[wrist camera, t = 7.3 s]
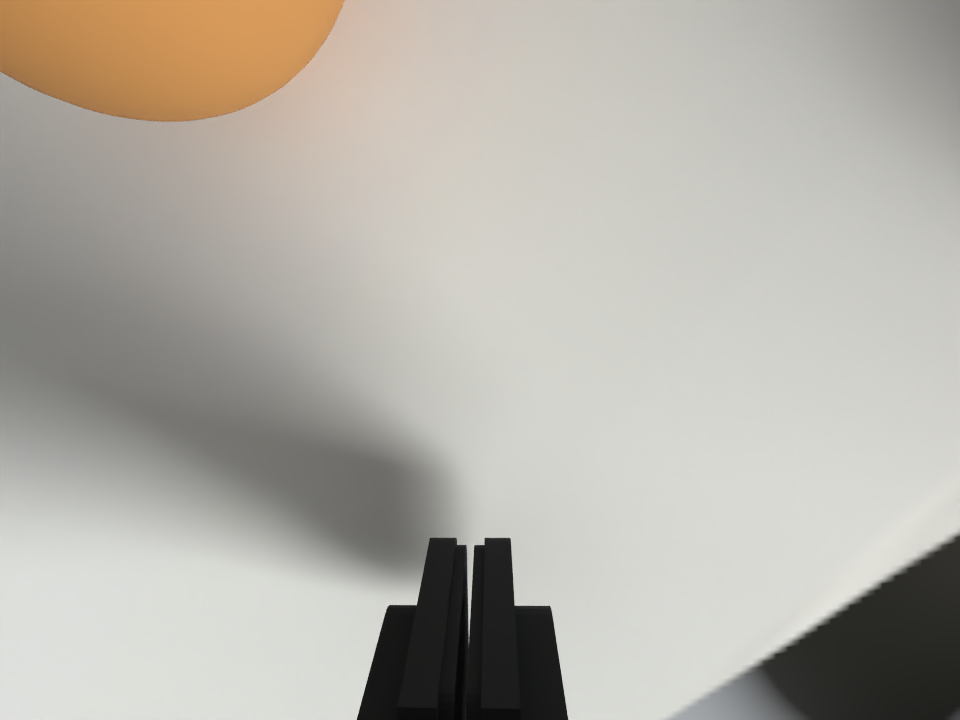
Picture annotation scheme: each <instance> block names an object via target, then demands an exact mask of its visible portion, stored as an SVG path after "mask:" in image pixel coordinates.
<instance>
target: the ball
mask: <svg viewBox="0 0 960 720" xmlns="http://www.w3.org/2000/svg"><path fill="white" fill-rule="evenodd" d="M343 3H344V0H0V72H2V73H4V74H6V75H8V76H10V77H11V78H13V79H15V80H17V81H19V82H21V83H22V84H24V85H26V86H28V87H30V88H33V89H35V90H37V91H39V92H42V93H44V94H46V95H49V96H52V97H55V98H57V99H60V100H63V101H65V102H68V103H71V104H74V105H76V106H79V107H82V108H85V109H88V110H92V111H95V112H99V113H103V114H108V115H112V116H118V117H124V118H130V119H139V120H148V121H190V120H199V119H205V118H210V117H216V116H220V115H224V114H228V113H232V112H235V111H238V110H241V109H243V108H246V107H248V106H250V105H252V104H254V103H256V102H258V101H260V100H262V99H263V98H265V97H267V96H269V95H271V94H272V93H274V92H276V91H277V90H279V89H280V88H281V87H283V86H284V85H285V84H286V83H288V82H289V81H290V80H291V79H292V78H293V77H294V76H295V75H296V74H297V73H299V72H300V71H301V70H302V69H303V68H304V67H305V66H306V65H307V64H308V63H309V61H310V60H311V59H312V58H313V57H314V55H315V54H316V52H317V51H318V50H319V48H320V47H321V45H322V44H323V43H324V41H325V40H326V38H327V36H328V35H329V33H330V31H331V30H332V28H333V26H334V24H335V21H336V19H337V17H338V15H339V13H340V10H341V8H342V6H343Z"/></svg>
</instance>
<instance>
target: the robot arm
mask: <svg viewBox="0 0 960 720" xmlns="http://www.w3.org/2000/svg"><path fill="white" fill-rule="evenodd" d="M357 720H568V716H567V709H566V703H565V696H564V689H563V683H562V676H561V670H560V663H559V656H558V650H557V643H556V637H555V630H554V623H553V617H552V611H551V607H550V606H514V589H513V572H512V554H511V539H510V538H485V545H475V546H474V562H473V581H472V600H471V618H470V637H469V636H468V589H467V547H466V545H457V539H456V538H430V541H429V546H428V551H427V556H426V561H425V566H424V571H423V577H422V582H421V587H420V592H419V597H418V602H417V605H389V606H388V608H387V610H386V613H385V617H384V621H383V624H382V628H381V632H380V636H379V639H378V643H377V647H376V650H375V654H374V658H373V662H372V665H371V669H370V673H369V676H368V680H367V684H366V688H365V691H364V695H363V699H362V702H361V706H360V710H359V714H358V717H357Z"/></svg>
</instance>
